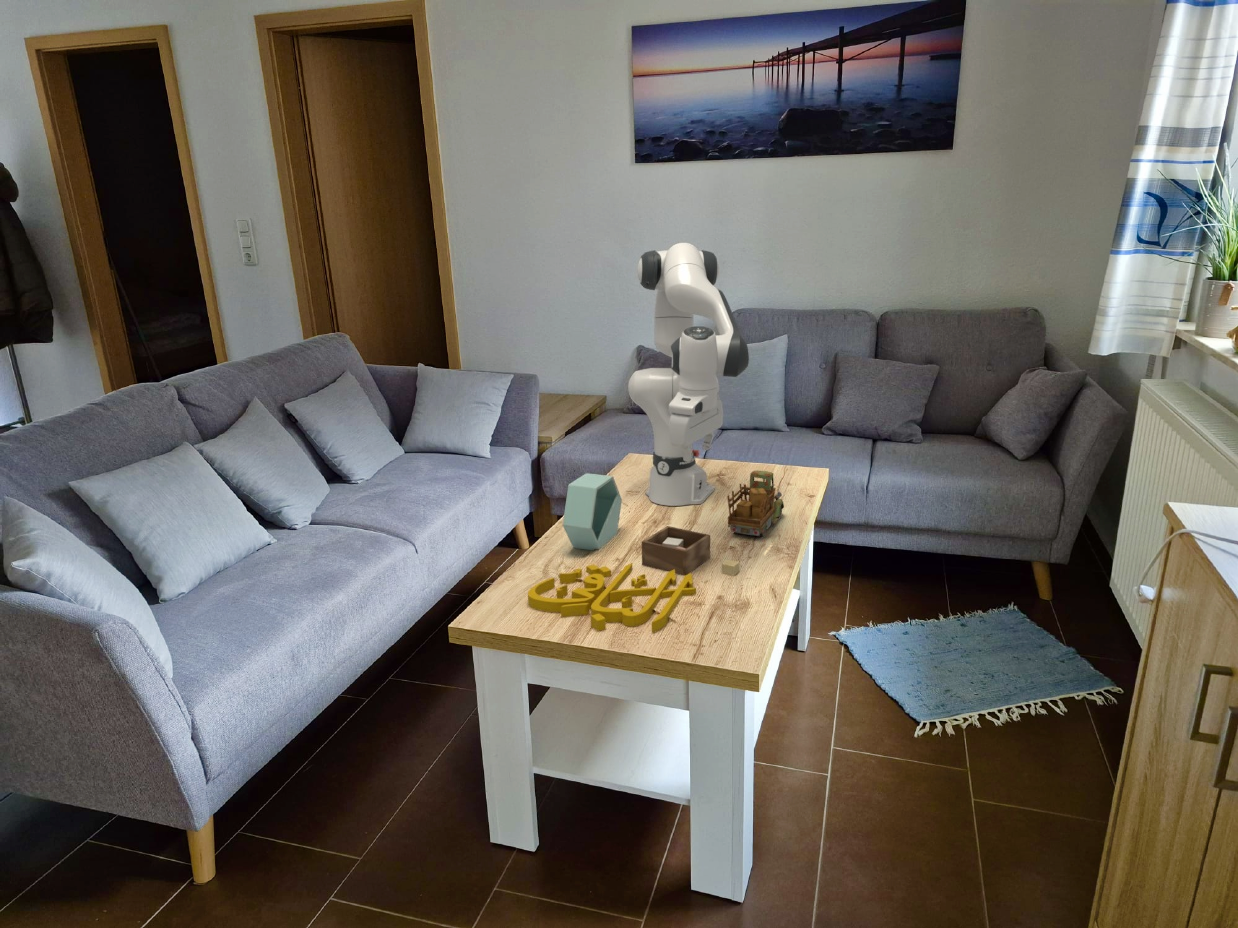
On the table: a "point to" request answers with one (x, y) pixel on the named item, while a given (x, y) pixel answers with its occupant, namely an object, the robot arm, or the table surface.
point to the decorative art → (610, 597)
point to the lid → (730, 567)
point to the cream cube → (673, 542)
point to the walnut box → (676, 550)
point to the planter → (592, 511)
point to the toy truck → (755, 506)
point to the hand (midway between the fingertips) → (697, 454)
